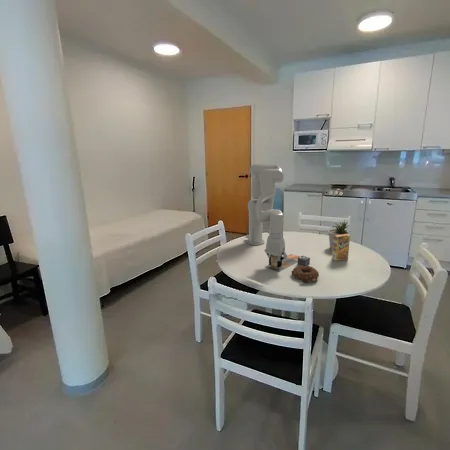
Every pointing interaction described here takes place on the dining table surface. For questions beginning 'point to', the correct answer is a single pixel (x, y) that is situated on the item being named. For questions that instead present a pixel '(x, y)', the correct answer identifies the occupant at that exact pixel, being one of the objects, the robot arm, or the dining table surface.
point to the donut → (305, 273)
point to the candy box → (340, 247)
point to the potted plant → (337, 232)
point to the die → (303, 261)
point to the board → (286, 262)
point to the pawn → (274, 262)
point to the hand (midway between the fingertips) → (275, 265)
